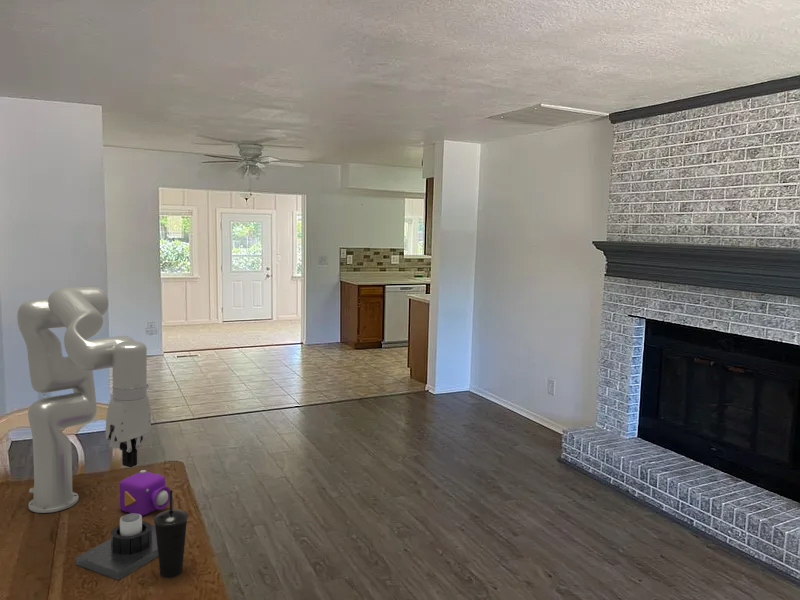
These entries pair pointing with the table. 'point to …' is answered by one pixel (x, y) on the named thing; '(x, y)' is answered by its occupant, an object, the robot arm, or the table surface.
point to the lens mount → (121, 553)
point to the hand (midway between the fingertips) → (129, 465)
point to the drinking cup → (171, 539)
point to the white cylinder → (131, 524)
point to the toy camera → (143, 493)
